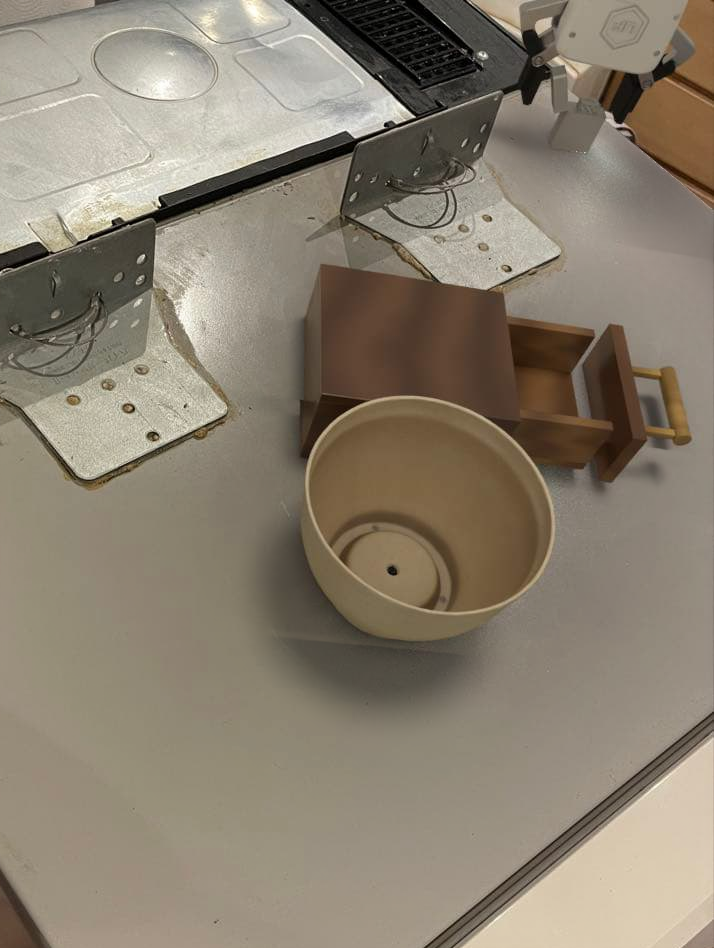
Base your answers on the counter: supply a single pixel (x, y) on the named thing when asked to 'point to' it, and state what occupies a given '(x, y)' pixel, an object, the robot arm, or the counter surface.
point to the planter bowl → (423, 518)
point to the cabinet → (403, 347)
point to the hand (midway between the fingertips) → (570, 105)
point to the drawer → (609, 393)
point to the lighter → (573, 116)
